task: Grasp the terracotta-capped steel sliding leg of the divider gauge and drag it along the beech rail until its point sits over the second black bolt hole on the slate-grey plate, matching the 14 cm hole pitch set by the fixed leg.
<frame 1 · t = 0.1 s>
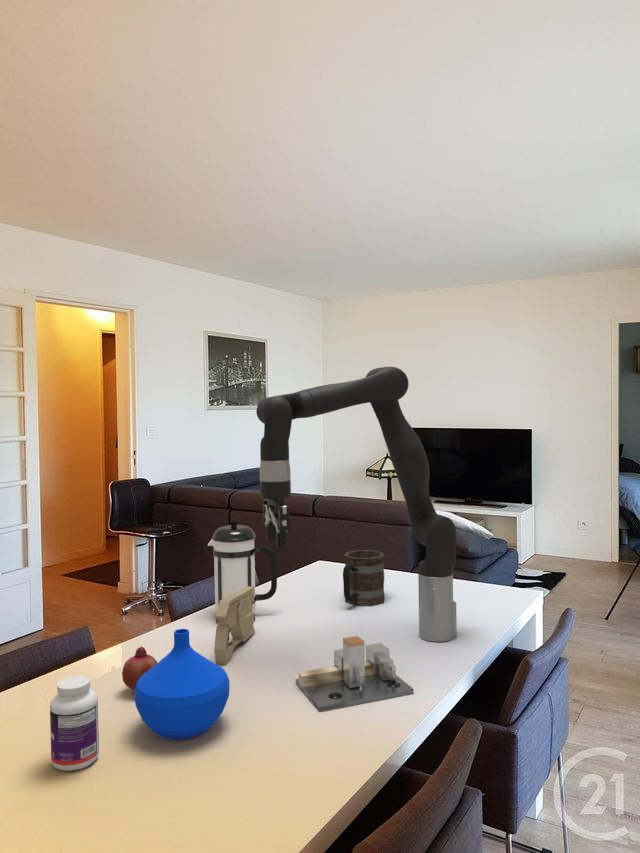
hand: (276, 544, 159), 29 cm above the table, fingers open, 8 cm apart
bolt plate: (353, 688, 145), on the table
pill bottle: (75, 762, 117), on the table
mug: (360, 603, 208), on the table
coffee press: (239, 617, 196), on the table
fruit: (141, 692, 145), on the table
gun: (236, 648, 171), on the table
divider rail: (346, 671, 149), on the bolt plate, point 2 cm above the table
fixed leg: (383, 663, 149), on the bolt plate, point 4 cm above the table
vase: (183, 728, 128), on the table
slide leg: (351, 659, 146), point 6 cm above the table, slide at 0.0 cm
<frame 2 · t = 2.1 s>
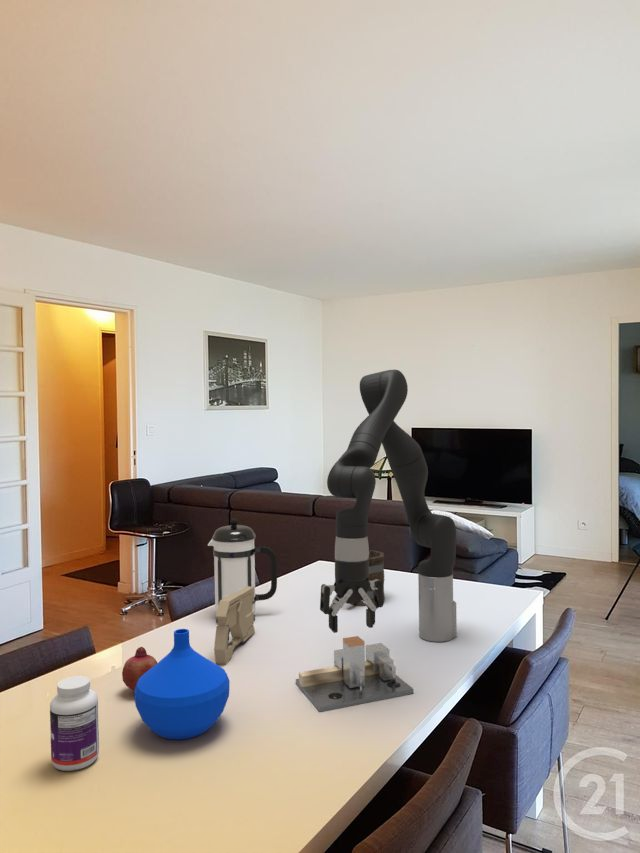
hand: (352, 629, 144), 13 cm above the table, fingers open, 8 cm apart
nothing on the table moved.
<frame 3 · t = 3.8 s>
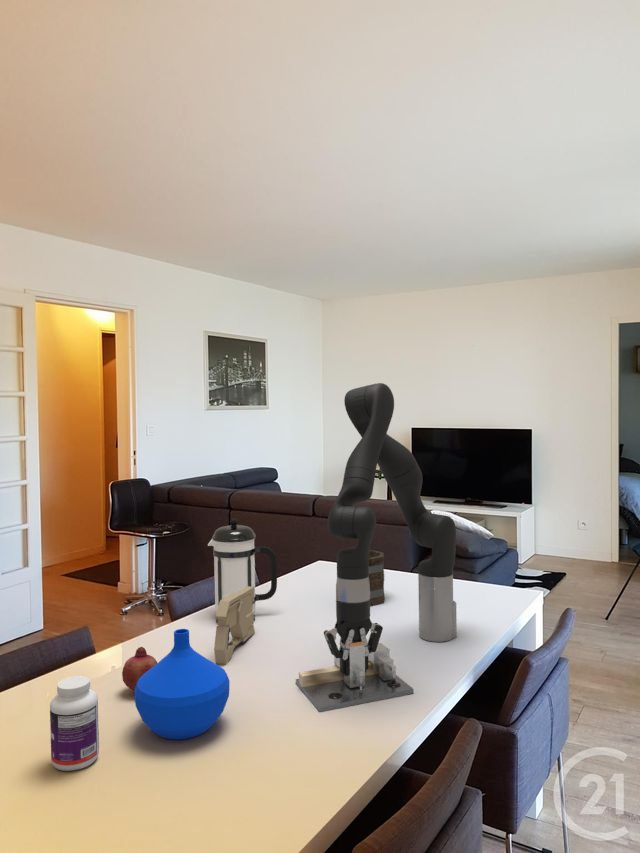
hand: (354, 672, 144), 4 cm above the table, fingers closed on slide leg, 3 cm apart
slide leg: (351, 659, 146), point 6 cm above the table, slide at 0.0 cm, touching gripper
everything else where it was.
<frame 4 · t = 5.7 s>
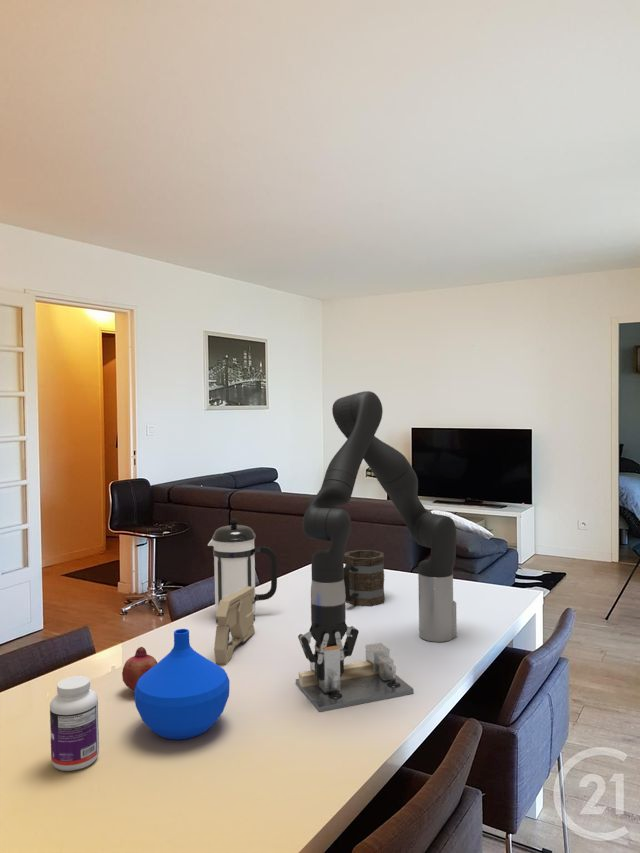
hand: (329, 677, 142), 4 cm above the table, fingers closed on slide leg, 3 cm apart
slide leg: (326, 663, 143), point 6 cm above the table, slide at 5.9 cm, touching gripper
everything else where it was.
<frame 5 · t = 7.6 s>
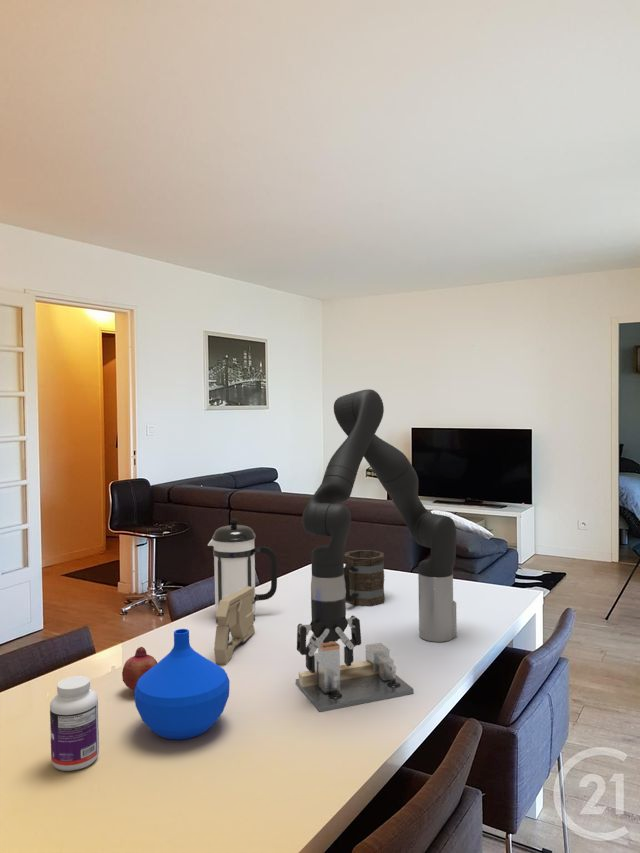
hand: (329, 668, 142), 6 cm above the table, fingers open, 8 cm apart
slide leg: (326, 663, 143), point 6 cm above the table, slide at 5.9 cm
everything else where it was.
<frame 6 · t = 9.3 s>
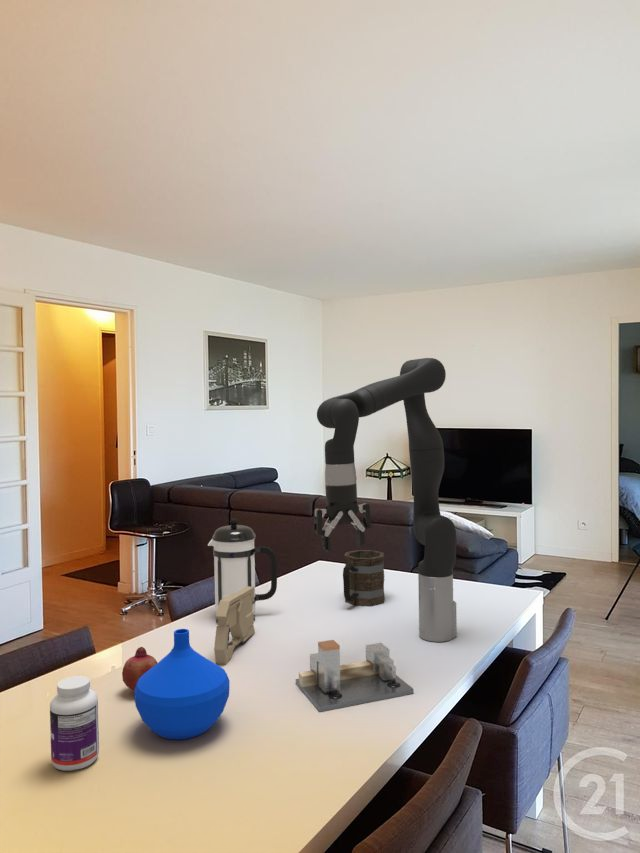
hand: (343, 549, 157), 28 cm above the table, fingers open, 8 cm apart
nothing on the table moved.
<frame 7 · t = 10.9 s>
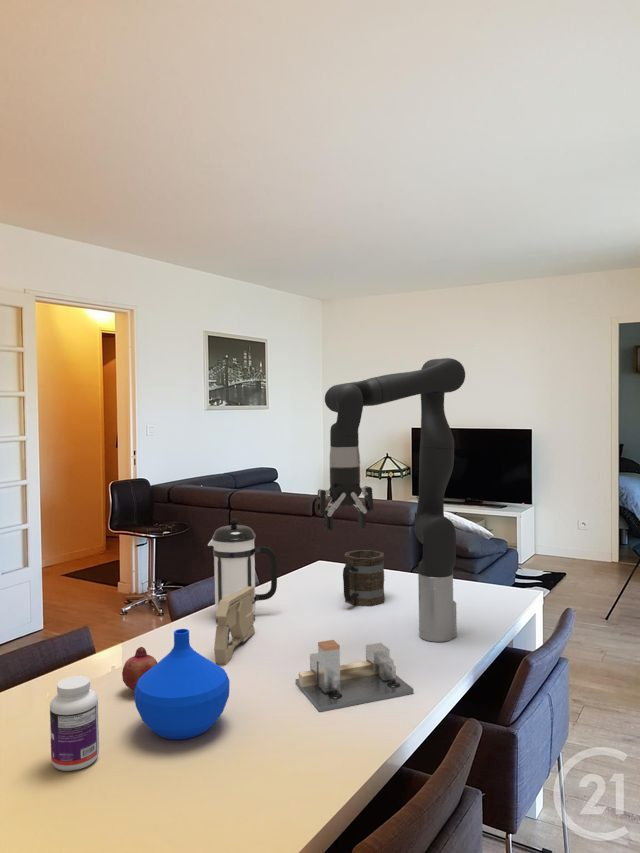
hand: (345, 529, 162), 32 cm above the table, fingers open, 8 cm apart
nothing on the table moved.
at the end: slide leg slide at 5.9 cm; the gripper is holding nothing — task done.
